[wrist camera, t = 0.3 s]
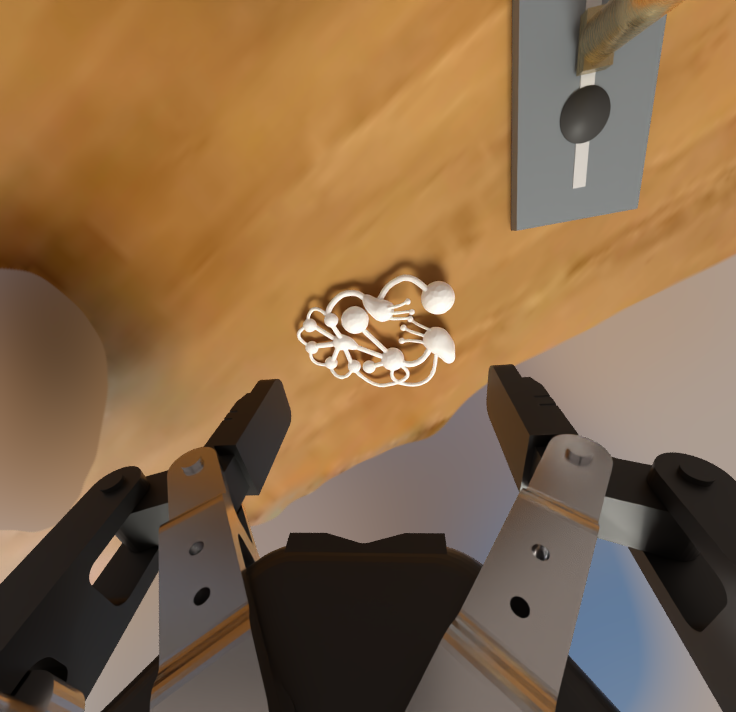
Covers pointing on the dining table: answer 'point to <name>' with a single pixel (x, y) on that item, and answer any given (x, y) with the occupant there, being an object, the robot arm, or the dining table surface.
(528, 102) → the board
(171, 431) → the dining table surface
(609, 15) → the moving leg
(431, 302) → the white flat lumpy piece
